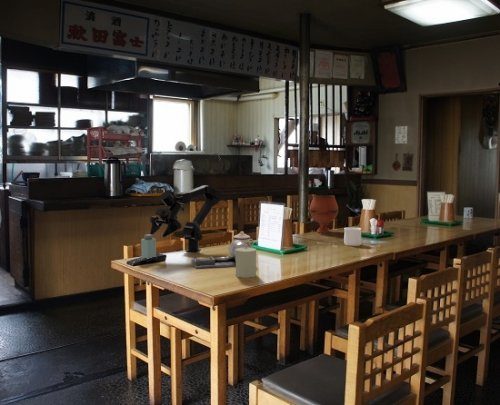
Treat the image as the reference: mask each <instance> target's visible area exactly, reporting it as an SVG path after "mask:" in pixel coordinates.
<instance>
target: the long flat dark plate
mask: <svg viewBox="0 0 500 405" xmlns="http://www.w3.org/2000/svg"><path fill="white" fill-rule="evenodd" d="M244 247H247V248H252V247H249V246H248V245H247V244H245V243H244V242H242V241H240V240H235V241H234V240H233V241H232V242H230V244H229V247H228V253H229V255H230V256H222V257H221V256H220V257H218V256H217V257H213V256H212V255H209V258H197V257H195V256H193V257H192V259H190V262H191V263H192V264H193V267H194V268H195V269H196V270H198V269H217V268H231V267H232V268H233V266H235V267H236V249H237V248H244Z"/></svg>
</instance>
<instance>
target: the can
mask: <svg viewBox="0 0 500 405" xmlns="http://www.w3.org/2000/svg"><path fill="white" fill-rule="evenodd" d="M234 275H235V277H237V278H240V277H241V278H243V279H247V278H248V279H249V278H250V277H251V278H255V277H256V276H257V248H254V247H251V248H247V247H244V248H237V249H236V266H235V274H234Z"/></svg>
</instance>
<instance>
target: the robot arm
mask: <svg viewBox="0 0 500 405" xmlns="http://www.w3.org/2000/svg"><path fill="white" fill-rule="evenodd" d="M201 195H202V196H204V200H205V202H204V203H203V204H202V206H201V208H200V209H199V211H198V212H197V214H196V215H195V217H194V218H193V220H192V221H187V222H186V223H185V225H184V226H183V229H182V234H183V238H184V239H185V240H187V249H186V250H185V252H190V253H191V252H193V253H197V252H199V251H202V249H201V248H200V245H199V244H200V243H199V242H200V241H202V240H203V235H202V234H201V225H202V224H203V222H204V221H205V219H206V217H207V216H208V214H209V213H210V211H211V210H212V209H213V207H214V206H216V205H218V204H219V203H220V202H221V201H222V198H223V196H222V193H221V192H220V191H218V190H217V189H215V188H214V187H213V188H212V187H211V186H210V185H201V186H199V187H195V188H194V189H191V190H188V191H181V192H179V191H178V192H176V193H175V194H174V193H173V192H172V190H171V189H167V190H166V191H164V192H163V193H161V194H160V195H159V199H160V200H161V201H162V203H163V204H164V205H165V206H166V207H165V208H163V207H157V208H156V209H155V213H154V215H156V216H150V217H149V222H150V223H151V229H150V232H149V234H151V235H154V234H155V233H156V232H158V231H159V230H160V229H161V227H162V226H163V225H166V226H167V227H166V228H165V230H164V232H163V234H162V238H165V237H167V236H169V235H171V234H172V233H174V232H177V231H180V230H181V228H182V224H181V223H180V221H179V220H178V215H179V213H180V212H185V208H184V205H187V204H189V203H190V202H191V201H192V200H193V199H194V198H197V197H200V196H201ZM182 204H183V205H182ZM158 216H159V217H158Z"/></svg>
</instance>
